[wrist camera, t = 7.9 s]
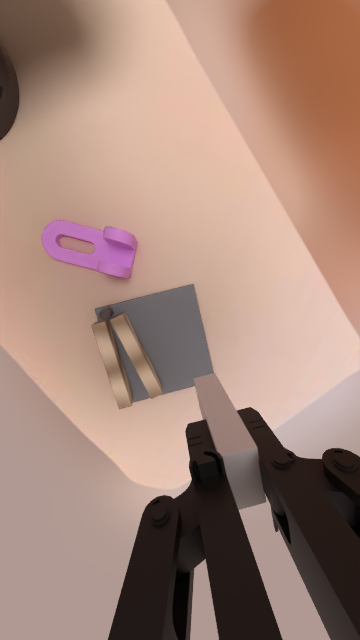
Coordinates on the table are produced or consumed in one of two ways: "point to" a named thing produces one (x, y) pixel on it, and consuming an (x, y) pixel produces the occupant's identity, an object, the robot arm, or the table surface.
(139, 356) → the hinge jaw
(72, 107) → the table surface
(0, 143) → the table surface
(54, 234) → the bracket
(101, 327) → the tongs base
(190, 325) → the mat
